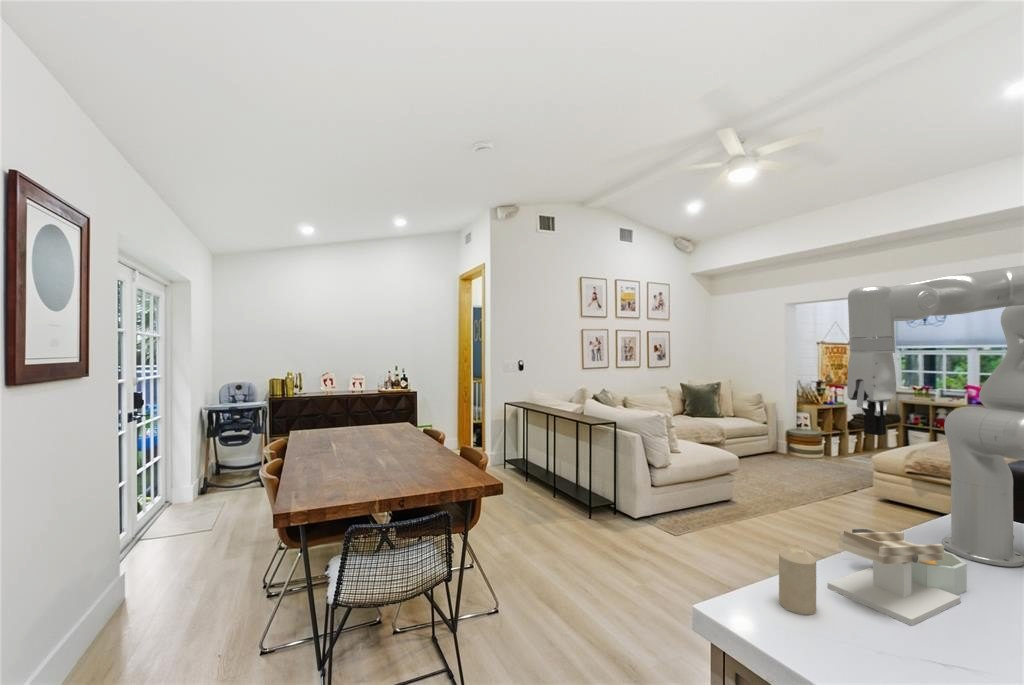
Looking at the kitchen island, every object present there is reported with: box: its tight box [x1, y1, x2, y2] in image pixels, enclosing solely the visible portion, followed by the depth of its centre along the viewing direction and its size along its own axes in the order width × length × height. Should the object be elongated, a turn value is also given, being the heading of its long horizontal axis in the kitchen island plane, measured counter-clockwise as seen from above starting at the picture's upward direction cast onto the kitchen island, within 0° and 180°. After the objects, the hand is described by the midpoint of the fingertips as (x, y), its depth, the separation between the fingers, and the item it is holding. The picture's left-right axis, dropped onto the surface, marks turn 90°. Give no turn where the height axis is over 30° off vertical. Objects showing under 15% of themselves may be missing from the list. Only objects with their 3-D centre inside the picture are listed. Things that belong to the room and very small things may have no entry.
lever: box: [838, 528, 945, 564], centre depth 87 cm, size 20×13×3 cm, turn 115°
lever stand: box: [826, 561, 961, 626], centre depth 84 cm, size 16×13×7 cm
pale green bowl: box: [911, 550, 968, 596], centre depth 90 cm, size 10×10×5 cm
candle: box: [778, 544, 817, 616], centre depth 81 cm, size 6×6×10 cm
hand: (875, 433), depth 98 cm, fingers closed
